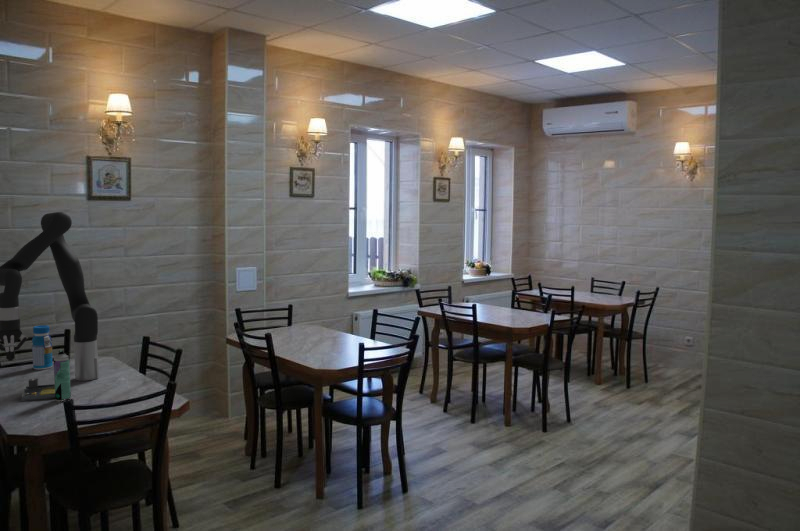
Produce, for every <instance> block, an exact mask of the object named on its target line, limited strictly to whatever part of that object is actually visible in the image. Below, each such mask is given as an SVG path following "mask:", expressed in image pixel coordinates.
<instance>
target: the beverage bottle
mask: <svg viewBox="0 0 800 531" xmlns="http://www.w3.org/2000/svg"><path fill="white" fill-rule="evenodd" d="M50 329H51V328H50V325H46V324H42V325H36V326H33V328H32V331H33V332H32V333H33V335H34V336H33V337H32V339H31V343H32V345H31V352H32V367H33V369H34V370H38V371H41V370H47V369H52V367H54V362H53V344H52V340H53V339H52V337H51V335H50V334H49V333H50V332H51V331H50Z"/></svg>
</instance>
